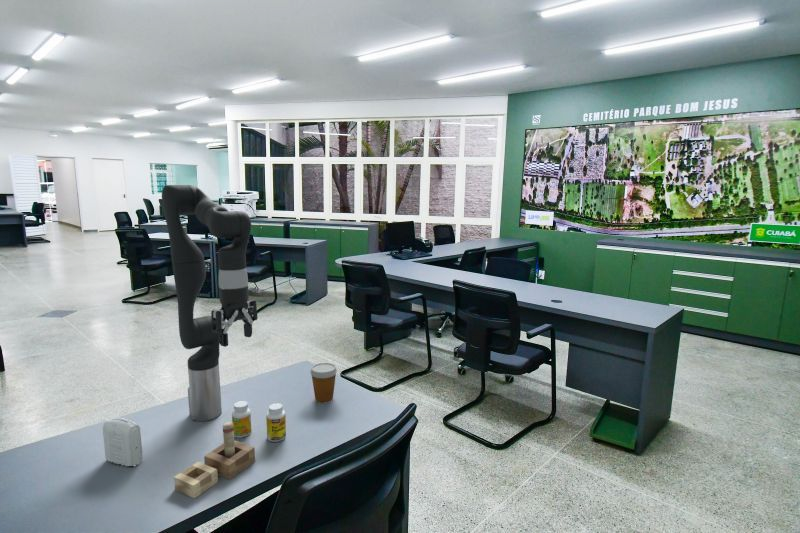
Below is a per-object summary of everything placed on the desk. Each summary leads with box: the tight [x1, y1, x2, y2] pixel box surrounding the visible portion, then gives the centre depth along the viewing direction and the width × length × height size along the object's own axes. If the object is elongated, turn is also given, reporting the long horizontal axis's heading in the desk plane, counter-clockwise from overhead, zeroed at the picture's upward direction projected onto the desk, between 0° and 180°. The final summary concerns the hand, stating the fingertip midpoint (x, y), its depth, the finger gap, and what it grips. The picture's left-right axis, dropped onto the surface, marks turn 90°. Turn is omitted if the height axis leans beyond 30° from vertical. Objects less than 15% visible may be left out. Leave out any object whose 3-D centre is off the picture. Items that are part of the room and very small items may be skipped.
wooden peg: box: [222, 421, 235, 458], centre depth 118 cm, size 3×3×12 cm
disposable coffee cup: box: [309, 362, 338, 404], centre depth 156 cm, size 10×10×12 cm
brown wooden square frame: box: [203, 439, 256, 480], centre depth 118 cm, size 9×9×4 cm
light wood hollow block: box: [173, 461, 219, 499], centre depth 110 cm, size 7×7×4 cm
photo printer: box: [102, 417, 143, 467], centre depth 119 cm, size 10×4×12 cm, turn 72°
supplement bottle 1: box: [231, 400, 252, 439], centre depth 133 cm, size 5×5×10 cm
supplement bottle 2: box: [265, 402, 287, 443], centre depth 131 cm, size 6×6×10 cm
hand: (236, 341), depth 122 cm, fingers open, 8 cm apart
